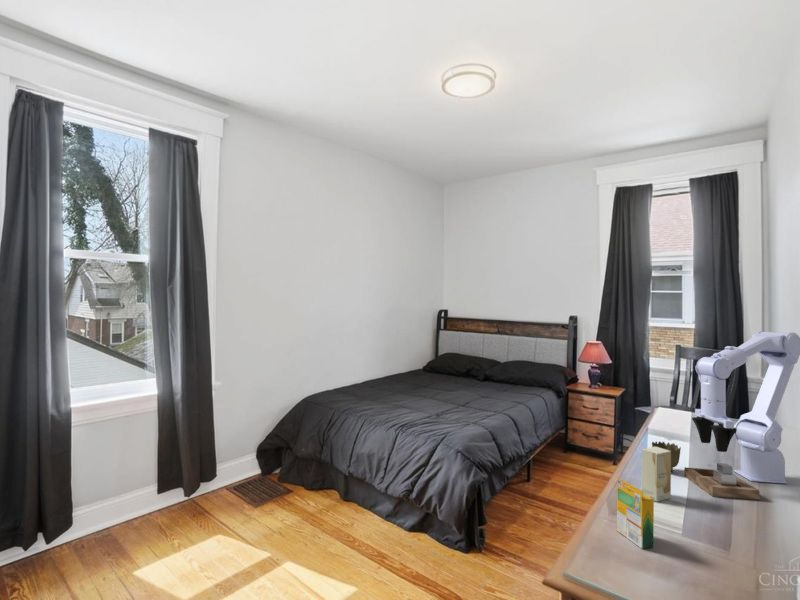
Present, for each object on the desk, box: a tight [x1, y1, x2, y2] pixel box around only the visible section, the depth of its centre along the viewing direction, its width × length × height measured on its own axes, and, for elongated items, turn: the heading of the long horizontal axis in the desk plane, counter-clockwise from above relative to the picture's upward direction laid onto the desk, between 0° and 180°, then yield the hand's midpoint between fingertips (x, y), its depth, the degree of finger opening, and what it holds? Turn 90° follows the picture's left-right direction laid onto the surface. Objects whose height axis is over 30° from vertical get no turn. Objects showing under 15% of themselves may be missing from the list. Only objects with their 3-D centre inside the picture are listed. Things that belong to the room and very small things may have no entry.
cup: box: [651, 441, 682, 473], centre depth 127 cm, size 8×7×8 cm
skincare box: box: [640, 446, 672, 502], centre depth 109 cm, size 6×4×12 cm
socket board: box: [683, 467, 760, 501], centre depth 115 cm, size 11×14×2 cm
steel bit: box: [712, 462, 737, 487], centre depth 113 cm, size 4×4×7 cm
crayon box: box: [616, 477, 655, 550], centre depth 88 cm, size 7×3×12 cm, turn 12°
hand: (713, 447), depth 120 cm, fingers open, 7 cm apart
